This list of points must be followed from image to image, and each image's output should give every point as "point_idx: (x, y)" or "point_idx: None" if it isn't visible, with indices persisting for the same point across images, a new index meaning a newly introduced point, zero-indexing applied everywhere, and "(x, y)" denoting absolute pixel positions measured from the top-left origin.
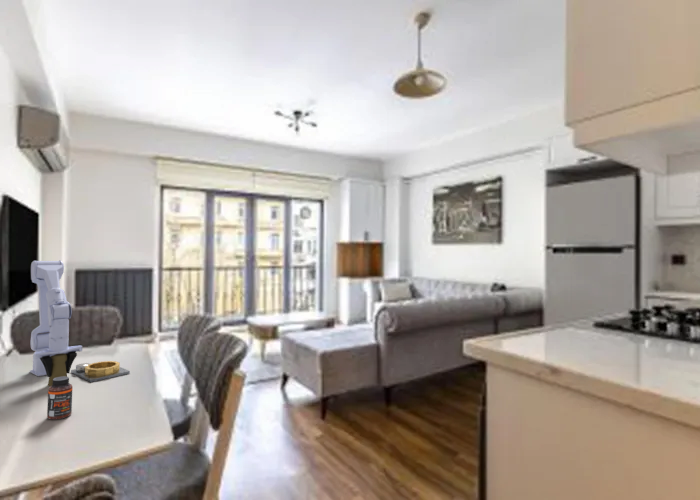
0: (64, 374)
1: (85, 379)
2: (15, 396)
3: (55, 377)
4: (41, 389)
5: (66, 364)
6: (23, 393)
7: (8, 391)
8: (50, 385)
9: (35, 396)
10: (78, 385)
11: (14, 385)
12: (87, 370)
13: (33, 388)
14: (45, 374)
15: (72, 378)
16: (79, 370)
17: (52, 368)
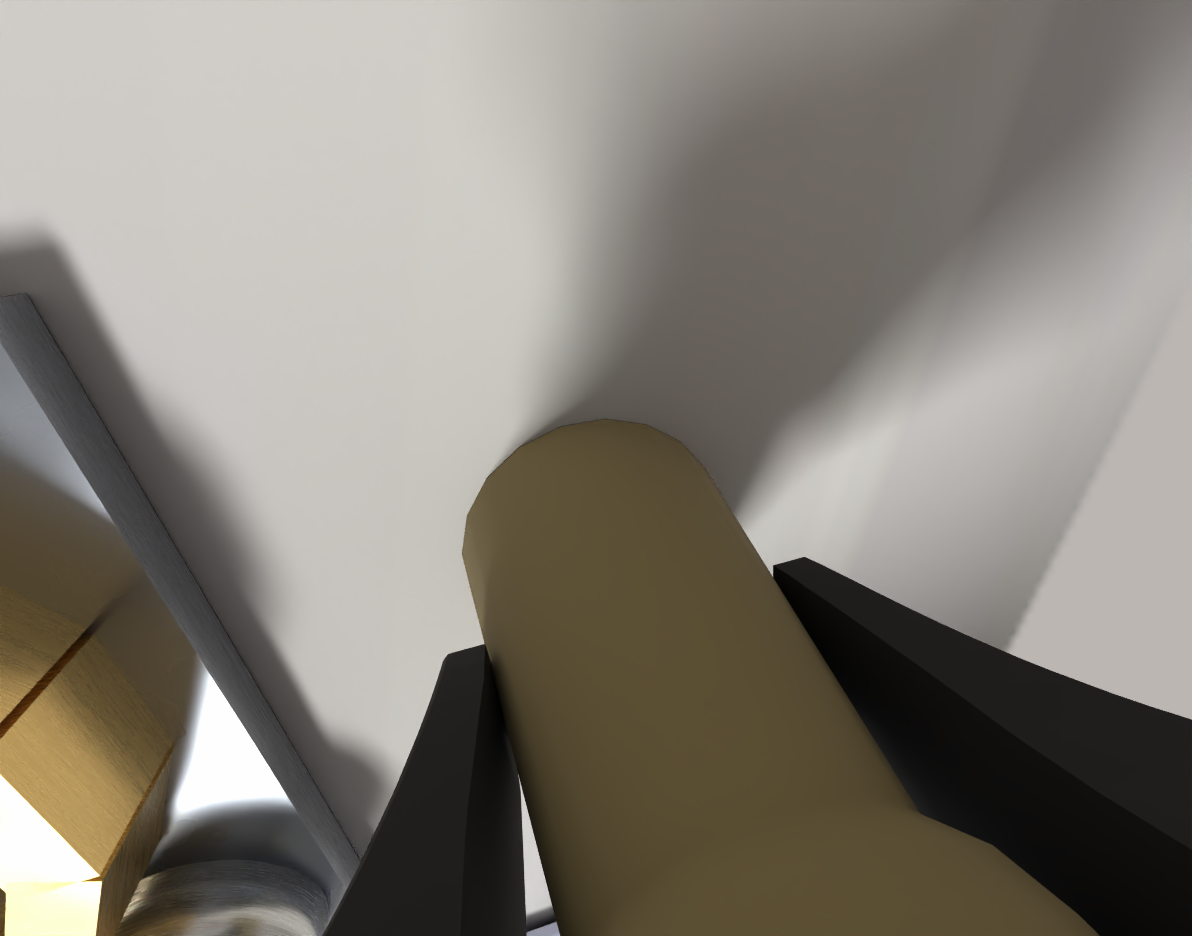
0: (552, 565)
1: (166, 542)
2: (1111, 283)
3: (709, 516)
4: (820, 402)
5: (508, 900)
6: (1010, 358)
7: (1045, 536)
8: (709, 478)
9: (1002, 55)
10: (297, 238)
11: None
12: (44, 750)
13: (864, 506)
14: None
15: (387, 698)
16: (267, 891)
17: (854, 710)
